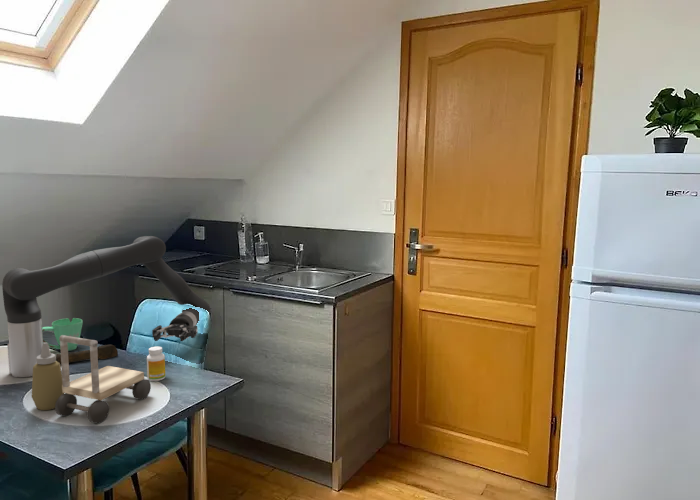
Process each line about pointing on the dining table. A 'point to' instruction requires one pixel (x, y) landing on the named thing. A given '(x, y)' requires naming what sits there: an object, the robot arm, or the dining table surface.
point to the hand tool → (103, 353)
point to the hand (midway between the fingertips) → (168, 338)
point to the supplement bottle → (155, 364)
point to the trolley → (96, 383)
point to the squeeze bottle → (46, 380)
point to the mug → (65, 331)
